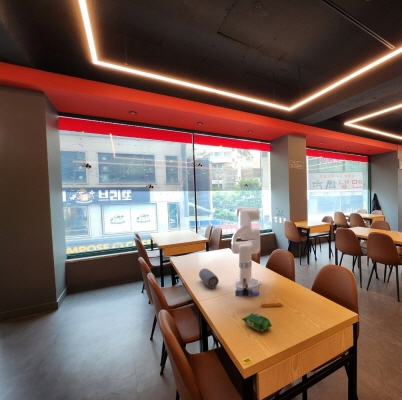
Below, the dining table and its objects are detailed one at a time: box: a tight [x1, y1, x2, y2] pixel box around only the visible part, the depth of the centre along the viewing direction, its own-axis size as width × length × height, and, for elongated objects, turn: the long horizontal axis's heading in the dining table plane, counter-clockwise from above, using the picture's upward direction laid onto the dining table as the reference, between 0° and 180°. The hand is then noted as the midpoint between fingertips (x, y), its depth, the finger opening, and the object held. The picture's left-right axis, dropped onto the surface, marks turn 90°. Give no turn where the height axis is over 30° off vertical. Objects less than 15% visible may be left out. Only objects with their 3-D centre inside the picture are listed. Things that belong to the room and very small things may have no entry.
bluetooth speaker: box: [198, 267, 219, 288], centre depth 173 cm, size 23×9×10 cm, turn 35°
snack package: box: [241, 312, 272, 333], centre depth 115 cm, size 7×16×5 cm, turn 52°
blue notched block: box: [234, 289, 260, 297], centre depth 137 cm, size 14×4×3 cm, turn 93°
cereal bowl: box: [235, 278, 261, 291], centre depth 157 cm, size 17×17×7 cm
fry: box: [261, 301, 282, 308], centre depth 138 cm, size 12×2×2 cm, turn 93°
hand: (245, 294), depth 137 cm, fingers closed on blue notched block, 2 cm apart
